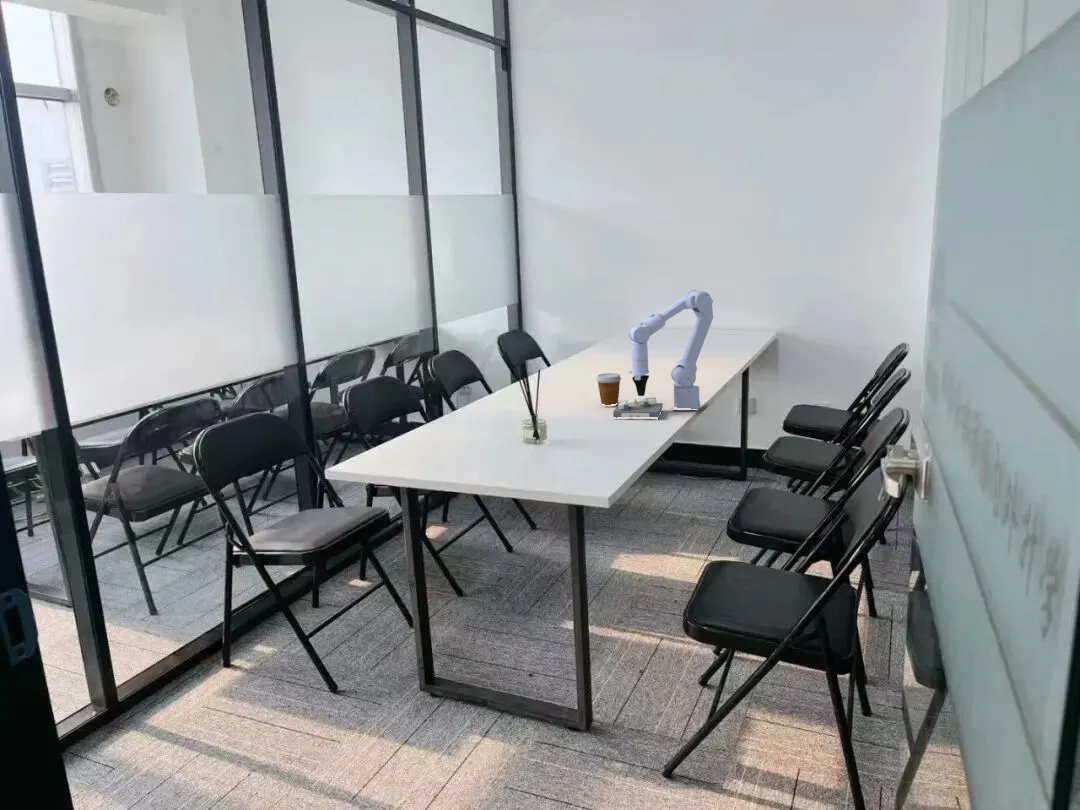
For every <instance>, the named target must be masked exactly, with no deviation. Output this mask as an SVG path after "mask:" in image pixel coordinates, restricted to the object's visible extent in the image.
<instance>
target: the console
mask: <svg viewBox="0 0 1080 810" xmlns="http://www.w3.org/2000/svg"><path fill="white" fill-rule="evenodd" d="M620 403H621V402H618V405H619V404H620ZM663 405H664V404H663V402H656V403H655V404H649V402H644V405H639V404H638V402H637V403H636V405H635V406H631V407H629V405H624V408H623V409H619V407H618V406H616V407H615V409H613V411H612V412H613V413H612V415H613V416H612V417H616V418H617V417H622V418H623V417H658V416H659V414H660V412H661V410H662V408H663ZM663 409H664V408H663Z"/></svg>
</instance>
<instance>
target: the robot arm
mask: <svg viewBox="0 0 1080 810" xmlns="http://www.w3.org/2000/svg"><path fill="white" fill-rule="evenodd" d="M713 302H714V301H713V299H712V297H711V295H710V294H709V293H708V292H706V291H700V290H696V289H692V290H690V291H688V292H687V293H685V294H683V295H681V297H680V298H678V299H677V300H676V301H675V302H673V303H672V304H671V305H669V306H668V307H666V309H665V310H663V311H662V312H661V313H658V312H655V313H650V314H649V317H648V318H646V319H645V320H644V321H641V322H639V324H638V325H635V326H632V328H630V331H629V333H628V337H629V339H630V341H631V357H632V358H631V362H632V363H631V364H632V367H631V368H632V370H629V371H628V372H629V374H632V375H633V376H632V381H633V384H634V385H635V389H636V392H637V396H638V397H644V396H645V395H646V388H647V383H648V380H649V378H650V375H648V374H649V373H650V371H649V354H648V353H649V351H648V350H649V349H648V341H649V340H650V337H652V335H654V334H655V333H657V332H658V331H660V330H661V329H662V328H664V327H665V325H666V321H667V320H669V319H671V318H673V317H674V316H675V315H677V314H679V313H680V312H682V311H684V310H693V313H694V315H695V317H696V320H695V323H694V326H693V329H692V331H691V334H690V336H689V339H688V340H687V341H688V342H687V344H686V348H685V350H684V353H683V355H682V358H681V359H680V360H678V362H677V364H676V365H675V367H674V368H672V371H671V373H670V376H671V380H672V381H674V383H673V407H677V408H691V409H697V411H696V412H699V410H698V409H700V407H699V406H700V405H701V401H700V386H699V385H694V384H695V382H696V378H697V376H696V375H697V370H698V366H697V362H698V358H699V355H700V353H701V350H702V348H703V346H704V343H705V341H706V337H707V335H708V332H709V329H710V328H711V324H712V322H713V319H714V312H713Z"/></svg>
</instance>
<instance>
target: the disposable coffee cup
mask: <svg viewBox="0 0 1080 810" xmlns="http://www.w3.org/2000/svg"><path fill="white" fill-rule="evenodd" d="M621 379H622V377H621V375H620V374H619V373H615V372H607V373H601V374H598V375H597V377H596V381H597V385H598V392H599V398H600V403H602V404H605V405H611V404H616V403H618V404H619V396H620V386H621ZM602 404H601V405H602Z"/></svg>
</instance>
